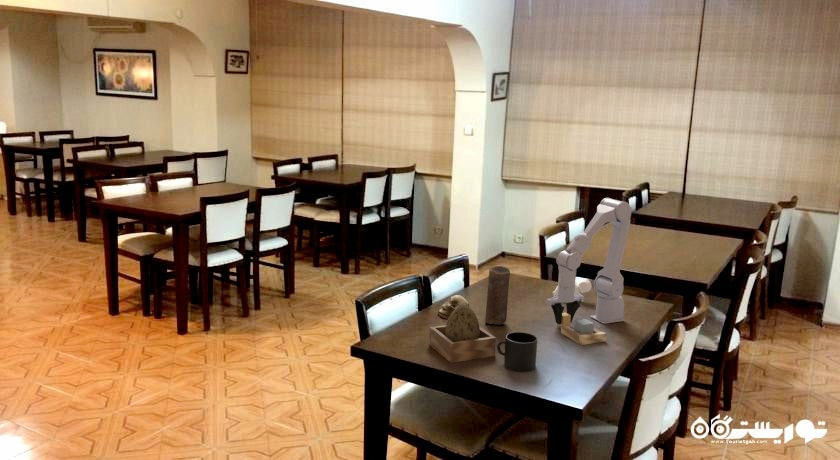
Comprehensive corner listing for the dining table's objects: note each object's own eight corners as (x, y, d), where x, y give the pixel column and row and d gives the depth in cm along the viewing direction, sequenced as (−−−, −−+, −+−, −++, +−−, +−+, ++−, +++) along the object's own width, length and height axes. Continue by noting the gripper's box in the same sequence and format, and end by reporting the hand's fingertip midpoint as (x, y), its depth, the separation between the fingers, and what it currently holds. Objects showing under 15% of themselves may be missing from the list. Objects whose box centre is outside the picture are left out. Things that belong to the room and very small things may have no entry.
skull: (432, 316, 250) (438, 290, 255) (439, 328, 258) (445, 302, 263) (465, 319, 246) (470, 293, 251) (470, 331, 255) (476, 306, 259)
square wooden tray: (471, 338, 232) (472, 321, 231) (495, 355, 218) (496, 337, 217) (429, 344, 226) (429, 327, 224) (450, 362, 212) (451, 344, 211)
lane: (583, 329, 244) (584, 322, 243) (605, 341, 233) (606, 333, 233) (560, 333, 240) (561, 325, 239) (581, 345, 229) (582, 336, 229)
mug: (500, 356, 218) (502, 328, 216) (538, 362, 214) (540, 334, 212) (491, 367, 210) (493, 338, 208) (531, 374, 205) (533, 345, 203)
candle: (508, 321, 249) (511, 267, 245) (504, 328, 243) (507, 272, 238) (487, 318, 252) (490, 264, 248) (482, 325, 245) (485, 270, 241)
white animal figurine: (555, 307, 277) (592, 299, 269) (549, 286, 276) (585, 278, 269) (561, 301, 284) (597, 293, 277) (555, 281, 284) (590, 273, 277)
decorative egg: (468, 359, 215) (470, 313, 212) (438, 351, 220) (439, 306, 217) (484, 348, 224) (486, 304, 220) (455, 341, 229) (456, 297, 226)
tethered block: (566, 324, 249) (567, 309, 247) (592, 338, 235) (594, 323, 234) (555, 325, 247) (556, 310, 246) (581, 340, 233) (583, 324, 232)
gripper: (576, 280, 250) (573, 316, 252) (542, 284, 244) (539, 321, 247) (589, 285, 243) (585, 323, 246) (554, 289, 237) (551, 327, 240)
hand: (563, 322), depth 246 cm, fingers open, 4 cm apart
